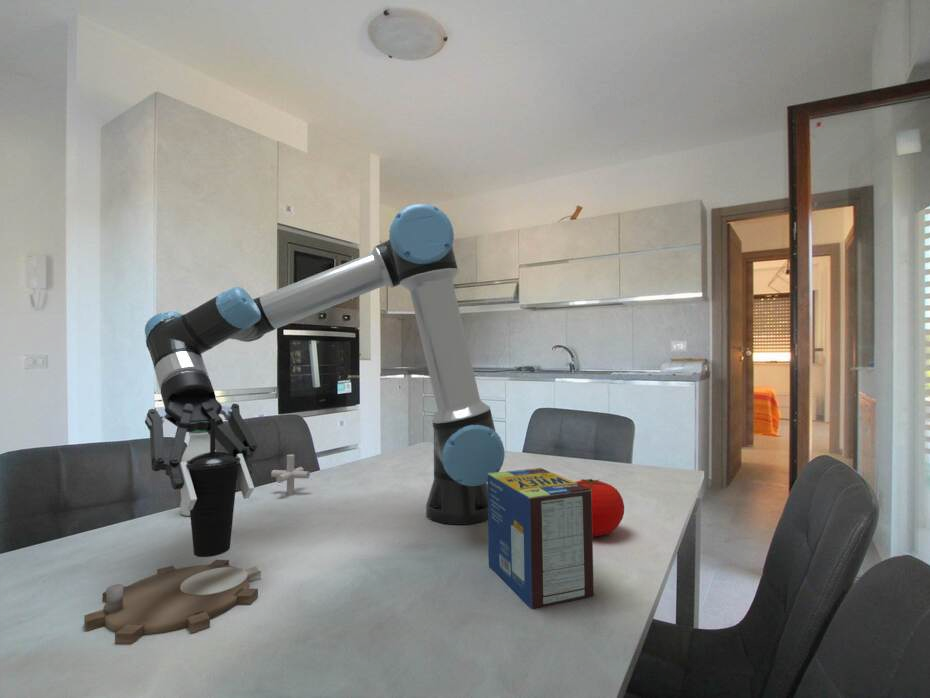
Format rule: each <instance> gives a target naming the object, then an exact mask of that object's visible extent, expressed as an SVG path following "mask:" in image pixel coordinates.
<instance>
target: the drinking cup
mask: <svg viewBox="0 0 930 698" xmlns="http://www.w3.org/2000/svg"><path fill="white" fill-rule="evenodd" d="M215 450H216V438H215V418H210V452H208V453H204V454H200V455H198V456H196V457H194V458H192V459H190V460H188V461H186V462H187V465H186V467H187V469H189V473H190V476H191V480H192V483H193V487H194V490H195V494H196V497H197V500H196V502H195V504H194V507H193V509H192V510H190V516H189V517H190V525H191V526H190V527H191V536H192V546H193V549H192V550H193V555H194V556H195V557H198V558H212V557H216V556H219V555H222V554H225V553H227V552H228V551H229V550H230V548H231V539H232V530H233V529H232V528H233V521H234V520H233V518H234V511H235V502H236V501H235V499H236V490H237V488H236V487H237V482H238V480H237V471H238V463H239V462H240V457H238V456H234V455H232V454H230V453H229V452H224V451H216V452H215Z"/></svg>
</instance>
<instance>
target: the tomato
mask: <svg viewBox="0 0 930 698" xmlns="http://www.w3.org/2000/svg"><path fill="white" fill-rule="evenodd" d="M600 480H601V479H600V478H599V479H593V478H592V479H591V478H589V479H587V478H586V479H583V478H581V479H580V480H578V481H574V482H575V483H578V484H580V485H583V486H586V487H588V488H590V489H591V490H592V537H599V536H600V537H601V536H604V535H607V534H610V533H612V532H614V531H615V530H616V529H617V528H618V527H619V525H620V523H621V521H622V520H623V519H624V514H625V503H624V499H623V497H622V495H621V493H620V492H619V490H618V489H617V488H615V487H614V486H613V485H611V484H609V483H608V482H607V483H606V482H603V481H602V480H601V481H600Z"/></svg>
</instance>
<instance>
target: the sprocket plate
mask: <svg viewBox="0 0 930 698" xmlns="http://www.w3.org/2000/svg"><path fill="white" fill-rule="evenodd" d="M156 571H157V572H156V573H157V574H154V575H150V576H148V577H145V578H142V579H140V580H137V581H135V582H132V583H131V584H128V585H126V586H125V585H124V584H122V583H118V584H112V585H110V586H108V587H107V588H106V591H103V592H102V595H101V596H102V602H103V603H105V604H104V606H103V608H102V610H98V611H94V612H91V613H88V614H84V616H83V617H84V619H83V621H84V622H83V624H84V630H85V632H87V631H91V630H94V629H97V628H101V627H106V628H107V629H108V630H109V631H112V632H115V633H114V644H126V645H127V644H128V645H129V644H134V643H135V642H137V641H138V640H139V639H140V638H141V637H142V636H144V635H154V634H160V633H161V634H162V633H167V632H173V631H177V630H181V629H185V628H187V630H188V631H189V633H190V634H193V633H197V632H199V631H202V630H206V629H208V628H210V627H211V619H214V618H216V617H218V616H221V615H222V614H224V613H226V612H227V611H229V610H231V609H232V608H234V607H235V606H237V605H248V606H249V605H252V604H253V602H255V600H257V598H258V597H259V588H250V583H251V582H254V580H255V581H257V580H260V579H262V571H261V570H260V569H259V568H258V566H253V567H250V568H246V569H243V568H241V567H237V566H232V565H230V559H215V560H214V561H212V562H211V563H209V564H202V565H192V566H186V567H180V568H176V567H175V566H174V565H169V566H165V567H162V568H157V569H156Z"/></svg>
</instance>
